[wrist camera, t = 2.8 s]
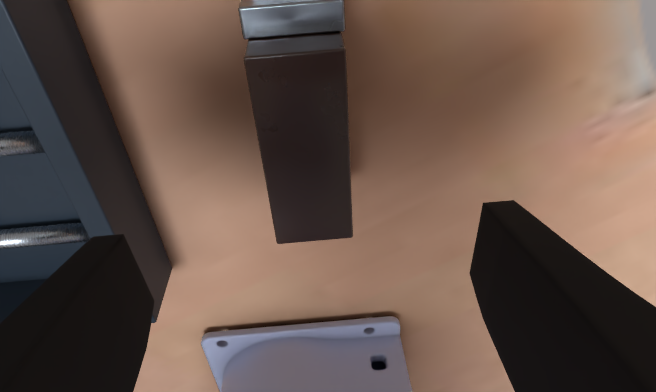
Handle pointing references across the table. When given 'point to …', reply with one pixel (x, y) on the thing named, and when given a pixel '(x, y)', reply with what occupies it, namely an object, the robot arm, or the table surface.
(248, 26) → the knife
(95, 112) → the drying rack
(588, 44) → the table surface
